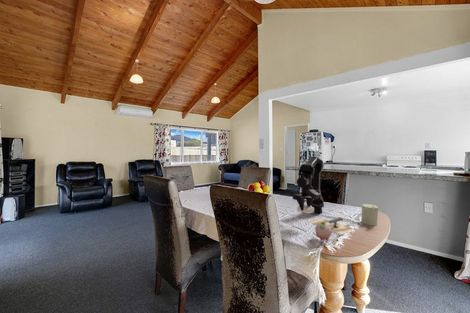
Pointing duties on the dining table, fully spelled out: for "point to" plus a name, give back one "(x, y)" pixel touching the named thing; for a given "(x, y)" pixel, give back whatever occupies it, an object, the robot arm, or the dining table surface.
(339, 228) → the board
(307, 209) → the cover
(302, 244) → the dining table surface
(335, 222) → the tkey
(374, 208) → the can
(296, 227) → the mat
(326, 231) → the decorative fruit
